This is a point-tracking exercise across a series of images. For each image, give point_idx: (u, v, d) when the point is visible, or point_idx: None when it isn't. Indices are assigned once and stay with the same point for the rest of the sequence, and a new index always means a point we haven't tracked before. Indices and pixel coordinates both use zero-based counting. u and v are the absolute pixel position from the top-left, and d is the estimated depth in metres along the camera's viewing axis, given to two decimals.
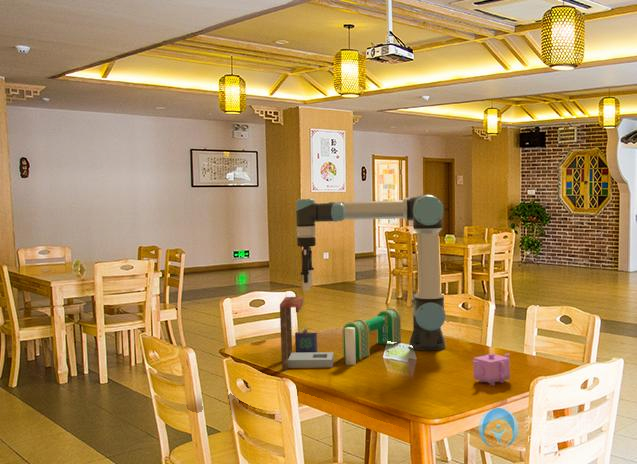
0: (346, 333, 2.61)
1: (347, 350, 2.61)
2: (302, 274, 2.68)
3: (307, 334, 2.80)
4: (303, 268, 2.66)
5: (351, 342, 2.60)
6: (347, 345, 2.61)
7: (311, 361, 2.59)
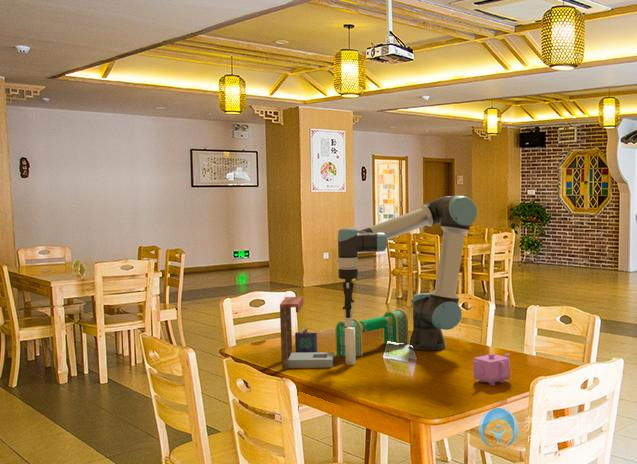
0: (346, 333, 2.61)
1: (347, 350, 2.61)
2: (344, 308, 2.53)
3: (307, 334, 2.80)
4: (346, 302, 2.52)
5: (351, 342, 2.60)
6: (347, 345, 2.61)
7: (311, 361, 2.59)
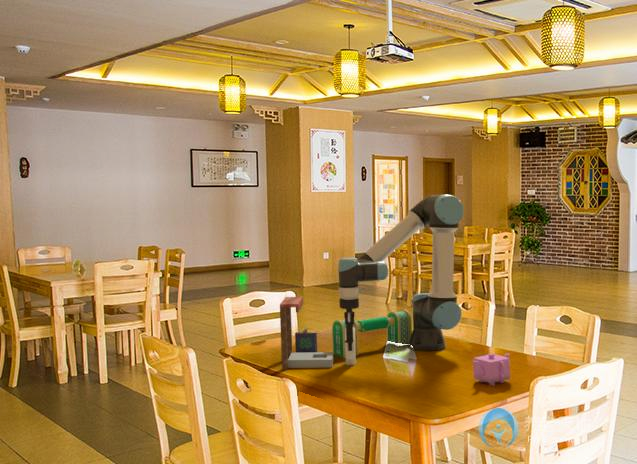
0: None
1: None
2: (346, 342, 2.59)
3: (307, 334, 2.80)
4: (348, 337, 2.57)
5: None
6: None
7: (311, 361, 2.59)
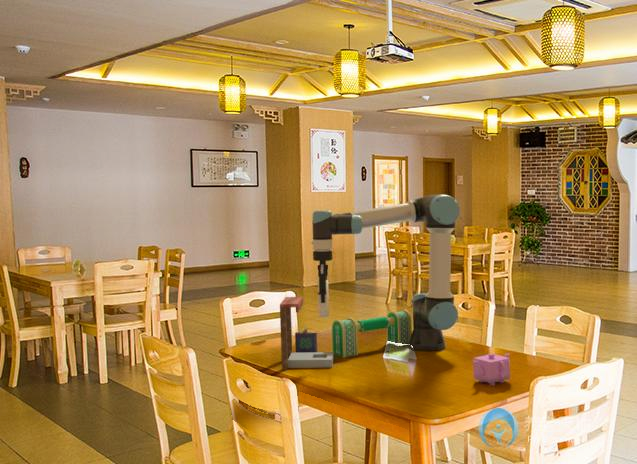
0: None
1: None
2: (319, 294, 2.59)
3: (307, 334, 2.80)
4: (320, 288, 2.57)
5: None
6: None
7: (311, 361, 2.59)
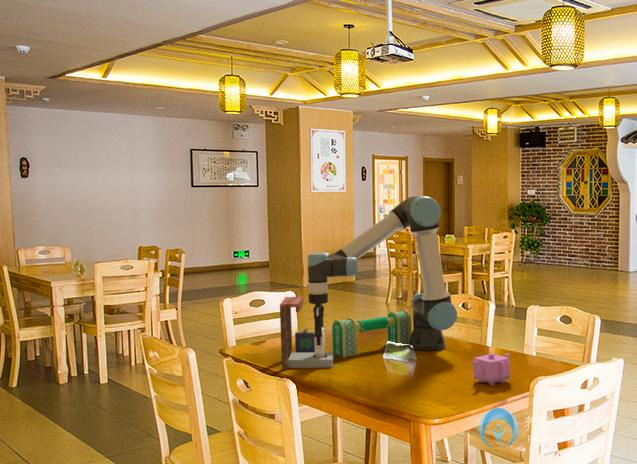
0: None
1: None
2: (315, 337, 2.59)
3: (307, 334, 2.80)
4: (316, 331, 2.57)
5: None
6: None
7: (311, 361, 2.59)
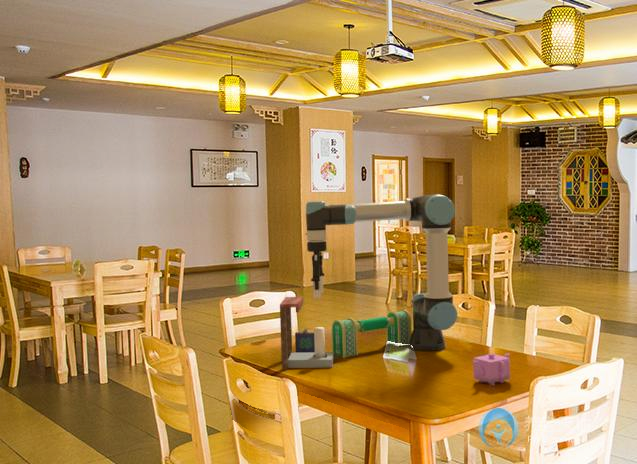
0: (315, 332, 2.63)
1: (316, 350, 2.63)
2: (313, 280, 2.55)
3: (307, 334, 2.80)
4: (314, 274, 2.53)
5: (321, 342, 2.62)
6: (317, 345, 2.63)
7: (311, 361, 2.59)
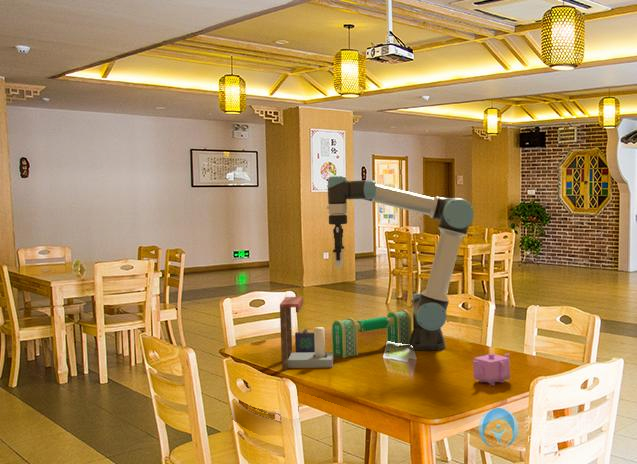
0: (316, 332, 2.63)
1: (316, 350, 2.63)
2: None
3: (307, 334, 2.80)
4: (336, 245, 2.64)
5: (321, 342, 2.62)
6: (317, 345, 2.63)
7: (311, 361, 2.59)
